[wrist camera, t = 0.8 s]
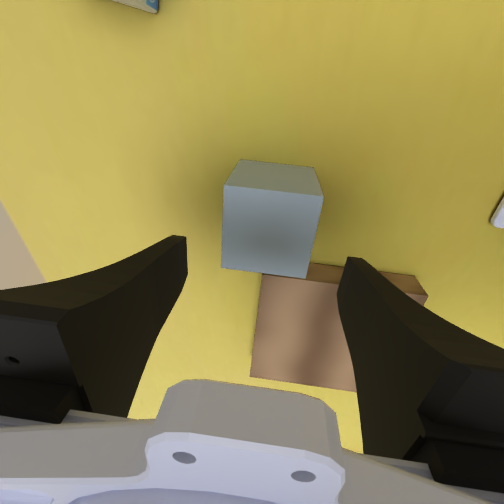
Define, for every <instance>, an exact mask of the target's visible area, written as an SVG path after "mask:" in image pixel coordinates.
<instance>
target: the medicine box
mask: <svg viewBox="0 0 504 504" xmlns="http://www.w3.org/2000/svg"><path fill="white" fill-rule="evenodd" d="M112 1H116V2H119V3H122V4H125V5H128V6H131V7H134V8H138V9H141V10H144V11H147V12H151V13H154V14H155V13H157V11H158V0H112Z"/></svg>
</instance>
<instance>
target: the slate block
mask: <svg viewBox="0 0 504 504" xmlns="http://www.w3.org/2000/svg"><path fill="white" fill-rule="evenodd" d="M323 199H324V195H323V192H322V189H321V187H320V184H319V181H318V178H317V176H316V173H315V170H314V167H305V166H296V165H287V164H278V163H269V162H260V161H251V160H242V159H240V161H239V162H238V164H237V165H236V167H235V168H234V170H233V171H232V173H231V175H230V176H229V178H228V179H227V181H226V182H225V184H224V194H223V224H222V254H221V268H226V269H234V270H242V271H250V272H257V273H265V274H273V275H281V276H288V277H296V278H304V279H306V275H307V270H308V266H309V261H310V257H311V253H312V248H313V244H314V239H315V235H316V230H317V226H318V222H319V217H320V213H321V208H322V204H323Z"/></svg>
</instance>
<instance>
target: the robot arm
mask: <svg viewBox="0 0 504 504" xmlns="http://www.w3.org/2000/svg"><path fill="white" fill-rule="evenodd" d="M491 224H492V225H493V226H495V227H497V228H504V197H503V199H502V201H501V202H500V204H499V206H498V208H497V209H496V211H495V213H494V215H493V216H492V218H491ZM187 275H188V268H187V244H186V237H184V236H176V235H172V236H170V237H167V238H165V239H163V240H161V241H160V242H158V243H156V244H154V245H152V246H150V247H148V248H146V249H144V250H142V251H140V252H138V253H136V254H134V255H132V256H130V257H127V258H125V259H123V260H121V261H119V262H116V263H114V264H111V265H109V266H106V267H103V268H100V269H97V270H94V271H91V272H88V273H84V274H81V275H77V276H74V277H70V278H66V279H62V280H57V281H53V282H48V283H43V284H38V285H32V286H25V287H18V288H12V289H5V290H0V504H504V349H503V348H501V347H498V346H496V345H494V344H492V343H490V342H487V341H485V340H483V339H481V338H479V337H477V336H475V335H473V334H471V333H469V332H467V331H465V330H463V329H461V328H459V327H457V326H455V325H454V324H452V323H450V322H448V321H446V320H445V319H443V318H441V317H439V316H438V315H436V314H435V313H433V312H431V311H430V310H428V309H427V308H425V307H424V306H422V305H421V304H419V303H418V302H416V301H415V300H413V299H412V298H411V297H409V296H408V295H407V294H405V293H404V292H403V291H401V290H400V289H399V288H398V287H396V286H395V285H394V284H393V283H391V282H390V281H389V280H388V279H387V278H385V277H384V276H383V275H382V274H381V273H380V272H378V271H377V270H376V269H375V268H374V267H372V266H371V265H370V264H369V263H368V262H366V261H365V260H364V259H362V258H356V257H347V261H346V264H345V267H344V270H343V274H342V277H341V280H340V283H339V287H338V290H337V303H338V311H339V316H340V319H341V323H342V327H343V331H344V334H345V338H346V342H347V345H348V349H349V352H350V356H351V360H352V365H353V370H354V377H355V383H356V390H357V397H358V405H359V413H360V422H361V431H362V440H363V452H364V454H360V453H356V452H353V451H350V450H348V449H345V448H342V447H341V442H340V435H339V429H338V423H337V417H336V413H335V412H334V411H333V410H332V409H331V408H330V407H329V406H328V405H327V404H326V403H325V402H323V401H322V400H320V399H318V398H315V397H312V396H309V395H306V394H302V393H298V392H291V391H284V390H277V389H270V388H263V387H256V386H249V385H242V384H235V383H228V382H221V381H214V380H208V379H192V380H184V381H181V382H179V383H177V384H175V385H173V386H171V387H169V388H168V389H167V392H166V394H165V397H164V399H163V402H162V404H161V407H160V410H159V412H158V415H157V417H156V419H139V420H137V419H130V418H127V416H128V413H129V410H130V407H131V404H132V401H133V398H134V396H135V393H136V390H137V387H138V384H139V382H140V379H141V376H142V374H143V371H144V368H145V366H146V363H147V361H148V358H149V356H150V353H151V351H152V348H153V346H154V343H155V341H156V338H157V336H158V334H159V332H160V330H161V328H162V327H163V325H164V323H165V321H166V319H167V317H168V316H169V314H170V312H171V310H172V308H173V307H174V305H175V303H176V301H177V299H178V297H179V295H180V293H181V291H182V289H183V286H184V283H185V281H186V278H187Z"/></svg>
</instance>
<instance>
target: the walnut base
mask: <svg viewBox="0 0 504 504" xmlns="http://www.w3.org/2000/svg"><path fill="white" fill-rule="evenodd" d="M343 270H344V267H339V266H331V265H323V264H315V263H309V266H308V270H307V275H306V279H304V278H296V277H288V276H281V275H273V274H265V273H263V275H262V283H261V291H260V299H259V306H258V314H257V322H256V330H255V338H254V346H253V354H252V362H251V370H250V377H255V378H262V379H269V380H276V381H283V382H290V383H297V384H303V385H310V386H317V387H324V388H331V389H338V390H345V391H352V392H357V390H356V383H355V377H354V370H353V365H352V360H351V356H350V352H349V349H348V345H347V342H346V338H345V334H344V331H343V327H342V323H341V319H340V316H339V311H338V303H337V290H338V287H339V283H340V280H341V277H342V274H343ZM378 272H379V271H378ZM380 273H381V274H382V275H383V276H384V277H385V278H387V279H388V280H389V281H390V282H391V283H393V284H394V285H395V286H396V287H398V288H399V289H400V290H401V291H403V292H404V293H405V294H407V295H408V296H409V297H411V298H412V299H413V300H415V301H416V302H418V303H419V304H421V305H422V306H423V305H424V303H425V302H426V300H427V298H428V295H427V293H426V292H425V290H424V289H423V288H422V286H421V285H420V283H419V282H418V280H417V279H416V278H415V276H410V275H402V274H394V273H386V272H380Z"/></svg>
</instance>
